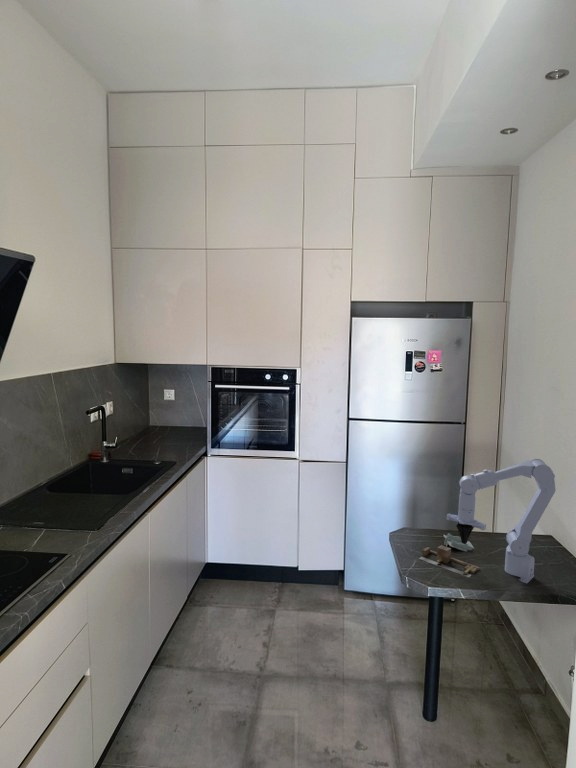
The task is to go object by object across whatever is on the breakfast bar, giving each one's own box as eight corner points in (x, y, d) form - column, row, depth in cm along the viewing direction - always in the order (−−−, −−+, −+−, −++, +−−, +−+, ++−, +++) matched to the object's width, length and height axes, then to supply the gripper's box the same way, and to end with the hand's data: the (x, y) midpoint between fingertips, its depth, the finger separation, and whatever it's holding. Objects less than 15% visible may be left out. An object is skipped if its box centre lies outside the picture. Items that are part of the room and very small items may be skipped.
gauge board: (482, 573, 180) (482, 564, 179) (470, 582, 173) (471, 573, 172) (428, 554, 195) (428, 545, 195) (415, 561, 188) (415, 552, 188)
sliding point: (450, 560, 186) (450, 548, 186) (442, 566, 182) (443, 553, 181) (440, 557, 189) (441, 545, 189) (432, 562, 185) (433, 549, 184)
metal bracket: (450, 542, 193) (441, 528, 208) (445, 556, 194) (437, 540, 209) (485, 554, 193) (473, 539, 208) (480, 567, 193) (469, 551, 208)
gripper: (443, 505, 184) (441, 539, 185) (481, 515, 174) (479, 552, 175) (451, 501, 189) (449, 534, 190) (489, 511, 179) (486, 546, 180)
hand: (464, 542), depth 183 cm, fingers closed
